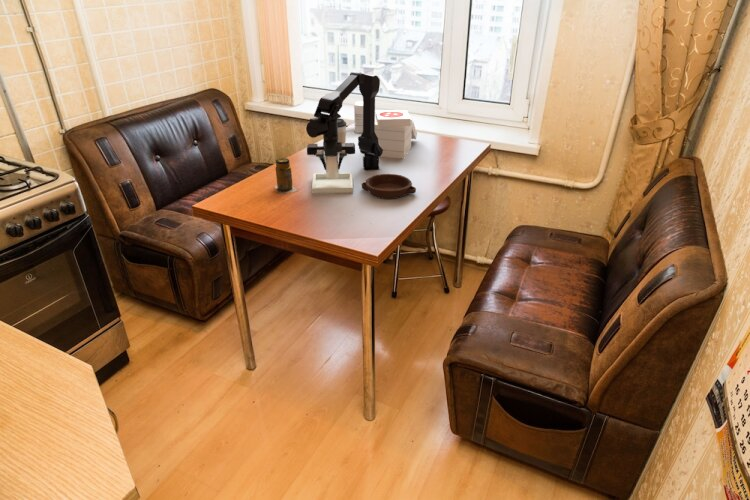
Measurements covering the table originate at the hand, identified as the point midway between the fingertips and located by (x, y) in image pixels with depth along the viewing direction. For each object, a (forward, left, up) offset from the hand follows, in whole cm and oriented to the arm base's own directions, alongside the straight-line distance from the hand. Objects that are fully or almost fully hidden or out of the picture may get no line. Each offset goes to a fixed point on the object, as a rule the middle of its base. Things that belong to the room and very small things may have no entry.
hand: (332, 169), depth 192 cm
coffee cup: (-2, -44, -7) cm, 45 cm away
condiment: (+19, +2, -7) cm, 21 cm away
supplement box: (-16, -75, -7) cm, 77 cm away
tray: (0, 0, -7) cm, 7 cm away
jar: (0, 0, -3) cm, 3 cm away
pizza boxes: (-30, -45, -7) cm, 55 cm away
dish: (-22, +8, -8) cm, 25 cm away
